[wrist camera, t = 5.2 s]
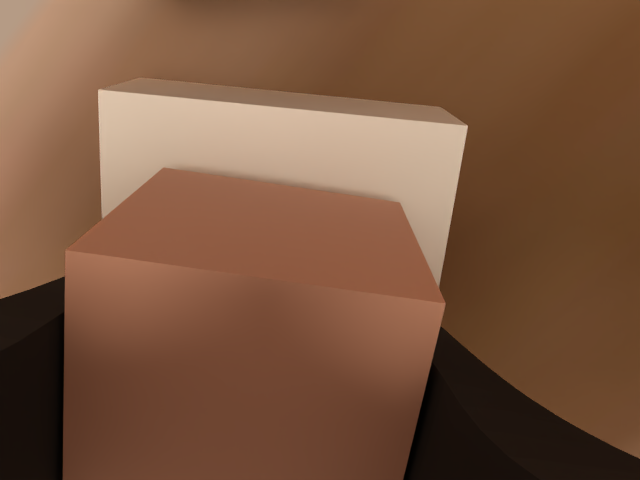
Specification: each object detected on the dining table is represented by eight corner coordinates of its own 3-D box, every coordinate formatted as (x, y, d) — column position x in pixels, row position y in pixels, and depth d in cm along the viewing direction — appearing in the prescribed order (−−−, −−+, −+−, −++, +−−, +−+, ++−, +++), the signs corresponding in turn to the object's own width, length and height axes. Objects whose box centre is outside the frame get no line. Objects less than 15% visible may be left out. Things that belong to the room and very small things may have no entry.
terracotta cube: (359, 401, 14) (377, 585, 10) (150, 374, 14) (61, 547, 9) (399, 202, 13) (446, 303, 8) (163, 167, 12) (65, 250, 8)
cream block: (438, 105, 16) (468, 125, 13) (397, 359, 19) (413, 430, 16) (144, 76, 16) (98, 89, 13) (145, 337, 19) (107, 404, 15)
